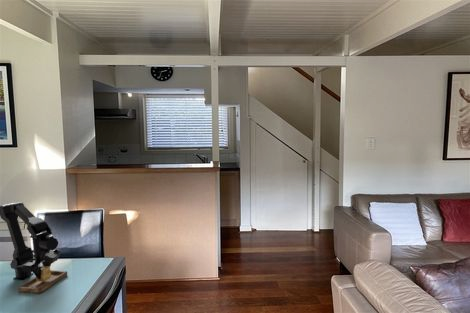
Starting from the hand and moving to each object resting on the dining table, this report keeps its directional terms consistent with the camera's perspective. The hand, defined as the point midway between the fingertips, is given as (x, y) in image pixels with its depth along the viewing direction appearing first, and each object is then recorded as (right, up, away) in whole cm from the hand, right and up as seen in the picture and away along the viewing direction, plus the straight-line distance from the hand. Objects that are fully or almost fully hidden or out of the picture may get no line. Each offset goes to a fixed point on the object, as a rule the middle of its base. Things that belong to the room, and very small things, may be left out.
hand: (43, 276), depth 161 cm
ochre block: (0, -1, 0) cm, 1 cm away
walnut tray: (0, -4, 0) cm, 4 cm away
